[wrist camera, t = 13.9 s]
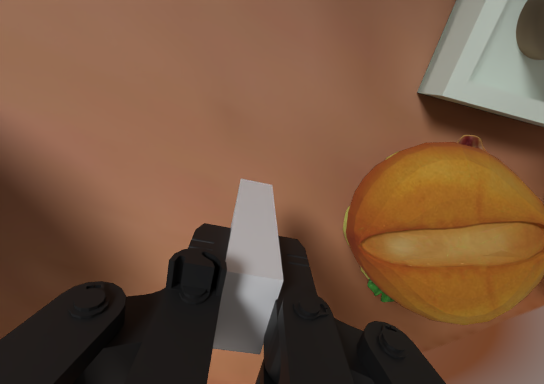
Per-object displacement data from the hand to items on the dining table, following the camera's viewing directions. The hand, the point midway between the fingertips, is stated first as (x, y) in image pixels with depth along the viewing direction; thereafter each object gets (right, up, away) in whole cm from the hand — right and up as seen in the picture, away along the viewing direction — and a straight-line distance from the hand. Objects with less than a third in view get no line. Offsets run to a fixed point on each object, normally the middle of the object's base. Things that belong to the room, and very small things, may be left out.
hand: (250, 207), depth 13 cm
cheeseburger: (+10, 0, +7) cm, 12 cm away
